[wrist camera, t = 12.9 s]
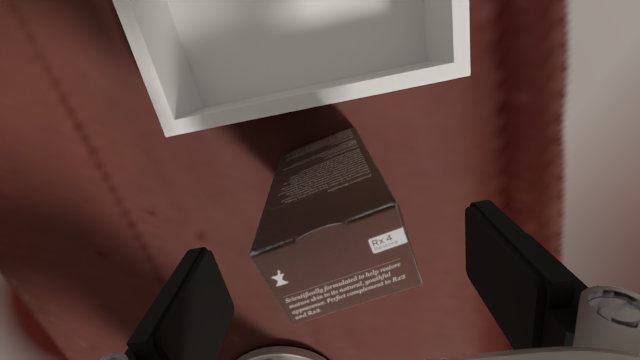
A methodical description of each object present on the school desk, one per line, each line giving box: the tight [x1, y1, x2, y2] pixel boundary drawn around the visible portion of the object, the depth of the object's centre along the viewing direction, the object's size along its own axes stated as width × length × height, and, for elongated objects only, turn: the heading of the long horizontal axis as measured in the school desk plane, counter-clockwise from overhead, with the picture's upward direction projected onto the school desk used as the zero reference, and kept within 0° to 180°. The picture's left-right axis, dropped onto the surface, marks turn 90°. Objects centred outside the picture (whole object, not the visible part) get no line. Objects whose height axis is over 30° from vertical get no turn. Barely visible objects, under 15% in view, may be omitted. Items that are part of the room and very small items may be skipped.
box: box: [249, 127, 422, 325], centre depth 17 cm, size 6×4×12 cm
